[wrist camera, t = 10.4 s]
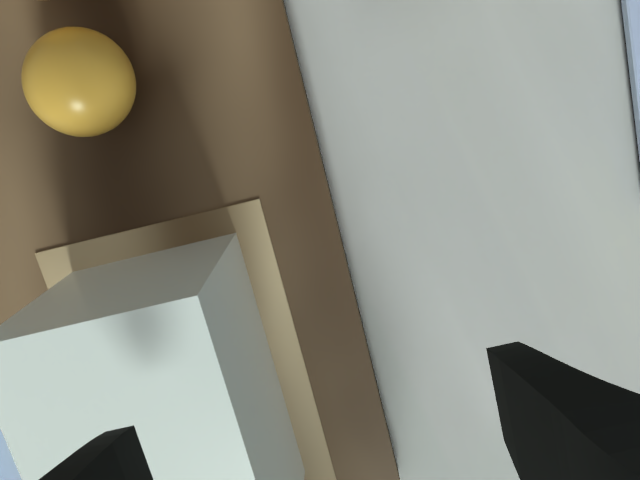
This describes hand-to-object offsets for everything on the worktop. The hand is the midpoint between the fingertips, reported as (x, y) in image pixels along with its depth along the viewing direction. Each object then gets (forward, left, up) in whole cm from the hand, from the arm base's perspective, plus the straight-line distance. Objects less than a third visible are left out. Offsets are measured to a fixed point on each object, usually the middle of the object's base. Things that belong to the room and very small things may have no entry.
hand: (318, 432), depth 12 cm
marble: (+5, -8, -7) cm, 12 cm away
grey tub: (+5, +2, -8) cm, 10 cm away
